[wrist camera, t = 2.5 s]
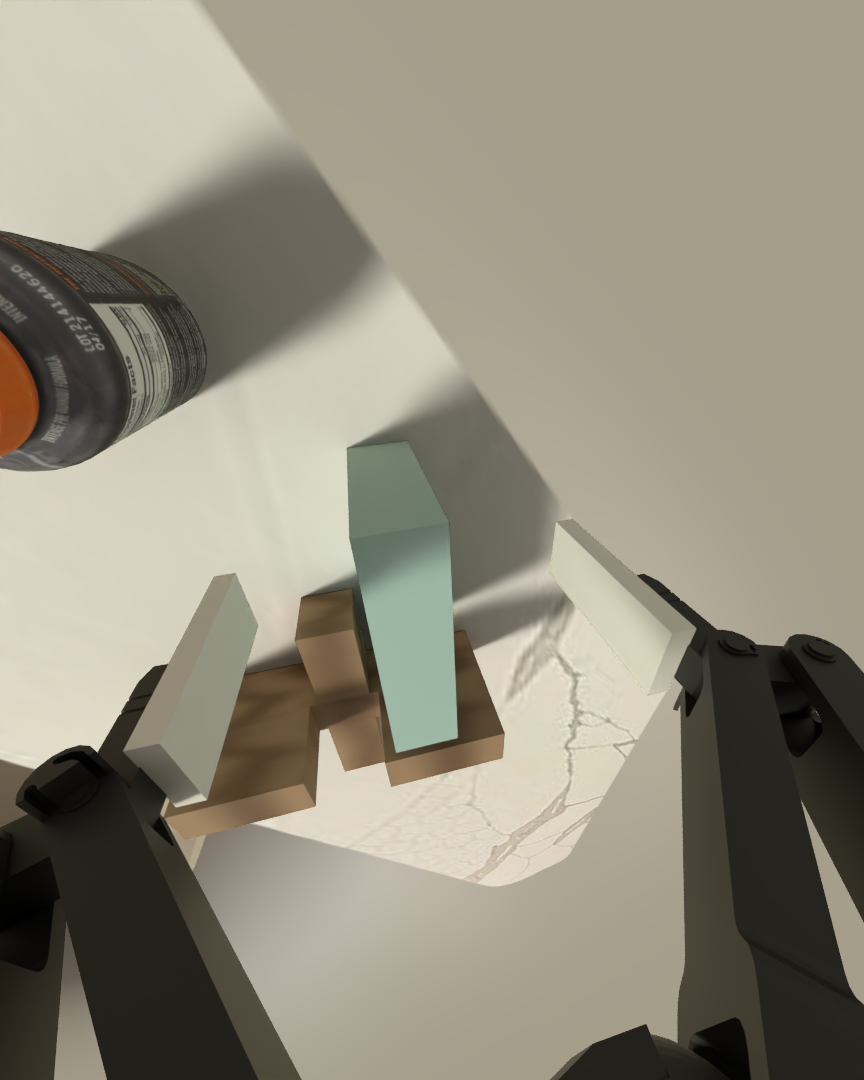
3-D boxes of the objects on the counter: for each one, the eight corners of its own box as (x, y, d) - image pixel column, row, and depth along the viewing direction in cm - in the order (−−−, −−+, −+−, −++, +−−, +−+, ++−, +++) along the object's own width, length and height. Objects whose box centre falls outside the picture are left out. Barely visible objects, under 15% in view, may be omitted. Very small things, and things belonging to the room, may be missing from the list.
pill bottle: (17, 326, 15) (-519, 345, 6) (103, 217, 14) (-382, 20, 5) (158, 434, 18) (-37, 562, 9) (238, 352, 17) (112, 399, 8)
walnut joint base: (252, 747, 33) (225, 876, 25) (173, 620, 24) (97, 758, 17) (465, 698, 36) (498, 801, 28) (463, 568, 27) (510, 666, 19)
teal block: (346, 447, 21) (349, 538, 12) (407, 440, 21) (449, 522, 13) (380, 623, 28) (396, 752, 20) (424, 615, 29) (457, 737, 20)
